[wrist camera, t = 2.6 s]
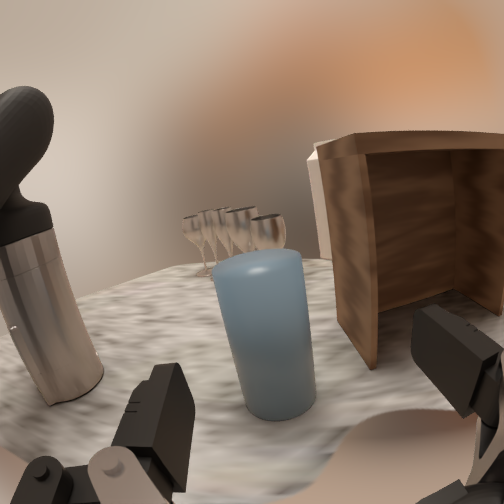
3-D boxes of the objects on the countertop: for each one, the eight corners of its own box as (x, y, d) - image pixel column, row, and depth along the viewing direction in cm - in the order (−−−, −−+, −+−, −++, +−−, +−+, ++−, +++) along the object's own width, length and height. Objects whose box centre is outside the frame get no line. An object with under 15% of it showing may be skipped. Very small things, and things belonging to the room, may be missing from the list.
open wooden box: (501, 314, 23) (504, 134, 18) (370, 370, 23) (353, 133, 18) (454, 285, 33) (448, 138, 28) (337, 320, 33) (316, 146, 28)
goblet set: (304, 294, 42) (291, 202, 39) (274, 309, 39) (257, 211, 36) (212, 266, 65) (199, 207, 61) (189, 275, 62) (174, 213, 58)
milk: (337, 249, 59) (322, 143, 54) (362, 252, 55) (347, 138, 49) (320, 258, 56) (302, 143, 51) (346, 262, 51) (329, 138, 46)
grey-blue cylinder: (294, 429, 18) (269, 282, 16) (231, 407, 22) (193, 275, 19) (327, 381, 23) (315, 248, 20) (270, 368, 27) (247, 248, 24)
